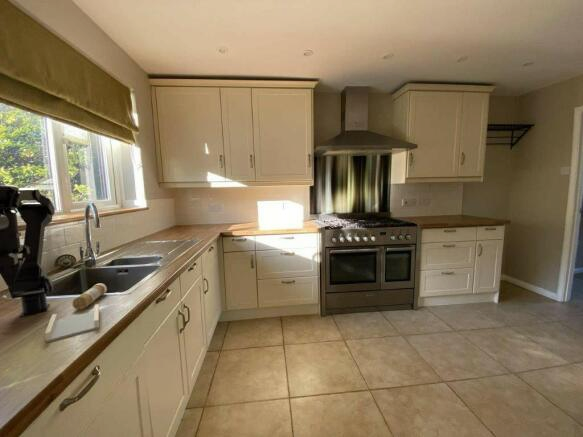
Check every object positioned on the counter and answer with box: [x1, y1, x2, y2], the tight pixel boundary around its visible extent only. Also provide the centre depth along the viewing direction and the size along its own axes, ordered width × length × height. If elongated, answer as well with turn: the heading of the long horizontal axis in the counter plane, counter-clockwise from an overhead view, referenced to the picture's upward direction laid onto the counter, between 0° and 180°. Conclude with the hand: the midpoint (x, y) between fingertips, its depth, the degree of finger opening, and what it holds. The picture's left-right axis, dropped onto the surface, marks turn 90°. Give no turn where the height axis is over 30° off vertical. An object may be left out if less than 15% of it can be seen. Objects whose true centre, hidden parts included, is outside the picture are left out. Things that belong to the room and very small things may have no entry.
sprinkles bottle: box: [72, 283, 108, 311], centre depth 89 cm, size 5×5×13 cm
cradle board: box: [44, 303, 100, 344], centre depth 73 cm, size 13×11×3 cm
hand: (10, 285), depth 70 cm, fingers closed
